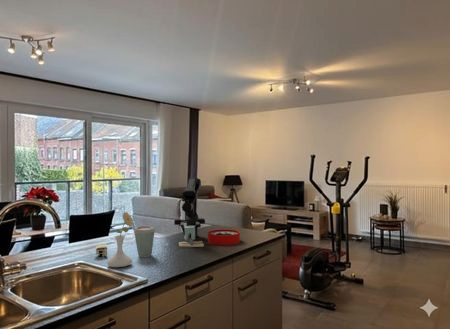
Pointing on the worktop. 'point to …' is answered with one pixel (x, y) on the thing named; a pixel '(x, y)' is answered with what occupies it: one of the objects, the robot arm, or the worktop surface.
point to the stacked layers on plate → (101, 250)
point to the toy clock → (223, 237)
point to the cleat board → (191, 243)
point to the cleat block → (189, 230)
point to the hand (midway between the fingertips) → (189, 235)
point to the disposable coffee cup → (144, 240)
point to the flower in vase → (120, 257)
